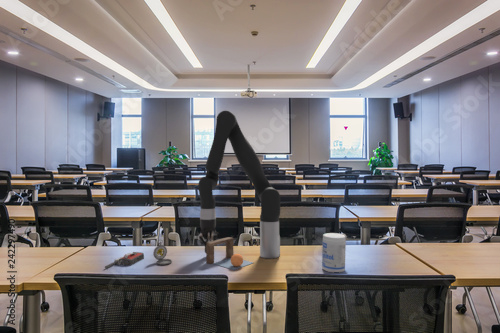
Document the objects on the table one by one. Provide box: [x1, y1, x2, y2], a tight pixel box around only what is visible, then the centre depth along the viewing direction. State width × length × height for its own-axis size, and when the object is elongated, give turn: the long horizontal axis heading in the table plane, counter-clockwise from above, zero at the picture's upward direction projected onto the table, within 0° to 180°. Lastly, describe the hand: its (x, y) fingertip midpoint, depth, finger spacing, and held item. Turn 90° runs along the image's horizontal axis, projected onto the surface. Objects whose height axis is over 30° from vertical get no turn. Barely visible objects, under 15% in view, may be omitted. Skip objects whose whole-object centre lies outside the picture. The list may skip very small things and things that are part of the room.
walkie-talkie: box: [104, 251, 145, 269], centre depth 153 cm, size 9×4×20 cm
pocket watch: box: [153, 239, 173, 266], centre depth 153 cm, size 8×8×10 cm
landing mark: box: [213, 257, 254, 271], centre depth 152 cm, size 13×13×1 cm
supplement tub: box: [321, 232, 347, 273], centre depth 144 cm, size 10×10×15 cm
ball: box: [231, 253, 244, 267], centre depth 148 cm, size 6×6×6 cm
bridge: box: [205, 236, 234, 265], centre depth 158 cm, size 3×14×9 cm, turn 139°
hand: (208, 253), depth 163 cm, fingers closed
